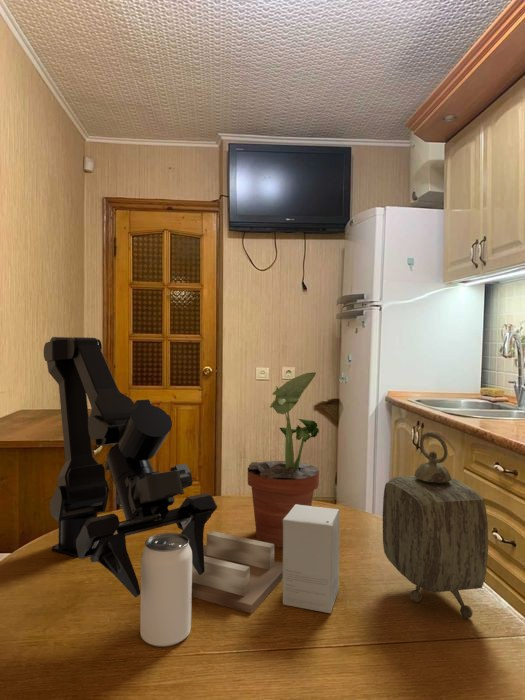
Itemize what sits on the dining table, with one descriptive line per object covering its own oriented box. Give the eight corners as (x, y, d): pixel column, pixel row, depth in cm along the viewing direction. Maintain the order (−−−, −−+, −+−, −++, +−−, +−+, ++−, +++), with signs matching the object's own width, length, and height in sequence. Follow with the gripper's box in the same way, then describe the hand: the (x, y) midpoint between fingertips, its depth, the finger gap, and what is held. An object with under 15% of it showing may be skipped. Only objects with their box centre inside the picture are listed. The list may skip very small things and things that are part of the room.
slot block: (148, 584, 74) (148, 553, 74) (197, 550, 87) (197, 523, 87) (251, 613, 67) (252, 579, 67) (288, 571, 79) (289, 542, 79)
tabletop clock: (486, 625, 65) (490, 442, 65) (426, 631, 63) (430, 443, 63) (428, 574, 79) (432, 424, 79) (378, 579, 77) (381, 425, 77)
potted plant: (336, 534, 96) (339, 359, 95) (289, 558, 84) (293, 360, 84) (276, 514, 106) (279, 357, 106) (227, 534, 94) (230, 357, 94)
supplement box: (340, 590, 74) (341, 508, 74) (330, 615, 67) (332, 525, 67) (293, 581, 76) (295, 502, 76) (280, 605, 69) (281, 518, 69)
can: (180, 652, 58) (181, 554, 58) (131, 644, 59) (132, 548, 59) (197, 622, 64) (199, 534, 64) (153, 616, 66) (154, 529, 66)
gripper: (84, 455, 59) (120, 578, 50) (211, 438, 71) (257, 535, 62) (63, 502, 65) (92, 619, 57) (183, 479, 77) (221, 573, 69)
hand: (171, 584), depth 61 cm, fingers open, 9 cm apart
